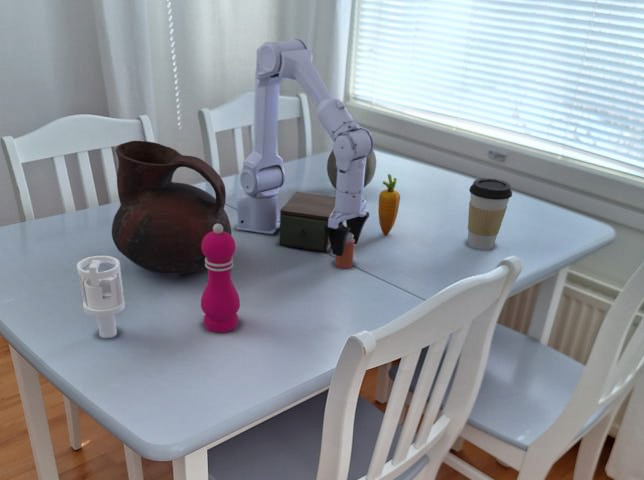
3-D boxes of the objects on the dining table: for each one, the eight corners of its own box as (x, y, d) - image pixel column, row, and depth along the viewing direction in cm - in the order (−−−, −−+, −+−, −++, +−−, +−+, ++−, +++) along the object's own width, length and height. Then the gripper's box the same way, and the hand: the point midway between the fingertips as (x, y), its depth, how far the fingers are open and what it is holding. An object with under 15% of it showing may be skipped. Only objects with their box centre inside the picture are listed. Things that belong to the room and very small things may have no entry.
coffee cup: (504, 241, 165) (517, 181, 157) (496, 255, 158) (509, 194, 149) (465, 233, 168) (475, 174, 160) (455, 247, 161) (466, 186, 153)
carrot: (394, 240, 163) (401, 180, 155) (374, 238, 164) (380, 177, 155) (396, 233, 167) (403, 173, 159) (376, 230, 168) (382, 171, 159)
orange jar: (333, 266, 149) (335, 236, 145) (337, 259, 152) (339, 230, 148) (350, 269, 148) (353, 239, 144) (354, 262, 151) (356, 232, 148)
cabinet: (326, 252, 156) (329, 217, 151) (279, 245, 158) (280, 210, 153) (340, 231, 167) (342, 197, 162) (295, 224, 169) (296, 191, 164)
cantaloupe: (315, 194, 189) (317, 140, 180) (341, 181, 198) (345, 130, 190) (358, 205, 182) (362, 150, 174) (383, 192, 192) (389, 139, 184)
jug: (200, 300, 134) (193, 177, 120) (93, 276, 140) (75, 157, 127) (251, 253, 153) (250, 142, 140) (155, 234, 160) (145, 127, 146)
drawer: (322, 252, 153) (323, 224, 149) (278, 245, 155) (279, 217, 152) (335, 230, 164) (337, 204, 161) (295, 224, 166) (296, 198, 163)
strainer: (83, 343, 119) (70, 266, 110) (93, 323, 124) (82, 248, 116) (123, 344, 119) (113, 267, 110) (131, 324, 125) (123, 250, 116)
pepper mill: (202, 315, 129) (197, 216, 118) (240, 314, 129) (238, 216, 118) (200, 334, 123) (195, 232, 112) (240, 334, 123) (238, 232, 112)
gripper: (351, 202, 134) (346, 264, 141) (380, 183, 145) (374, 242, 152) (320, 195, 137) (317, 256, 144) (351, 177, 147) (347, 235, 155)
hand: (345, 248), depth 148 cm, fingers open, 7 cm apart
